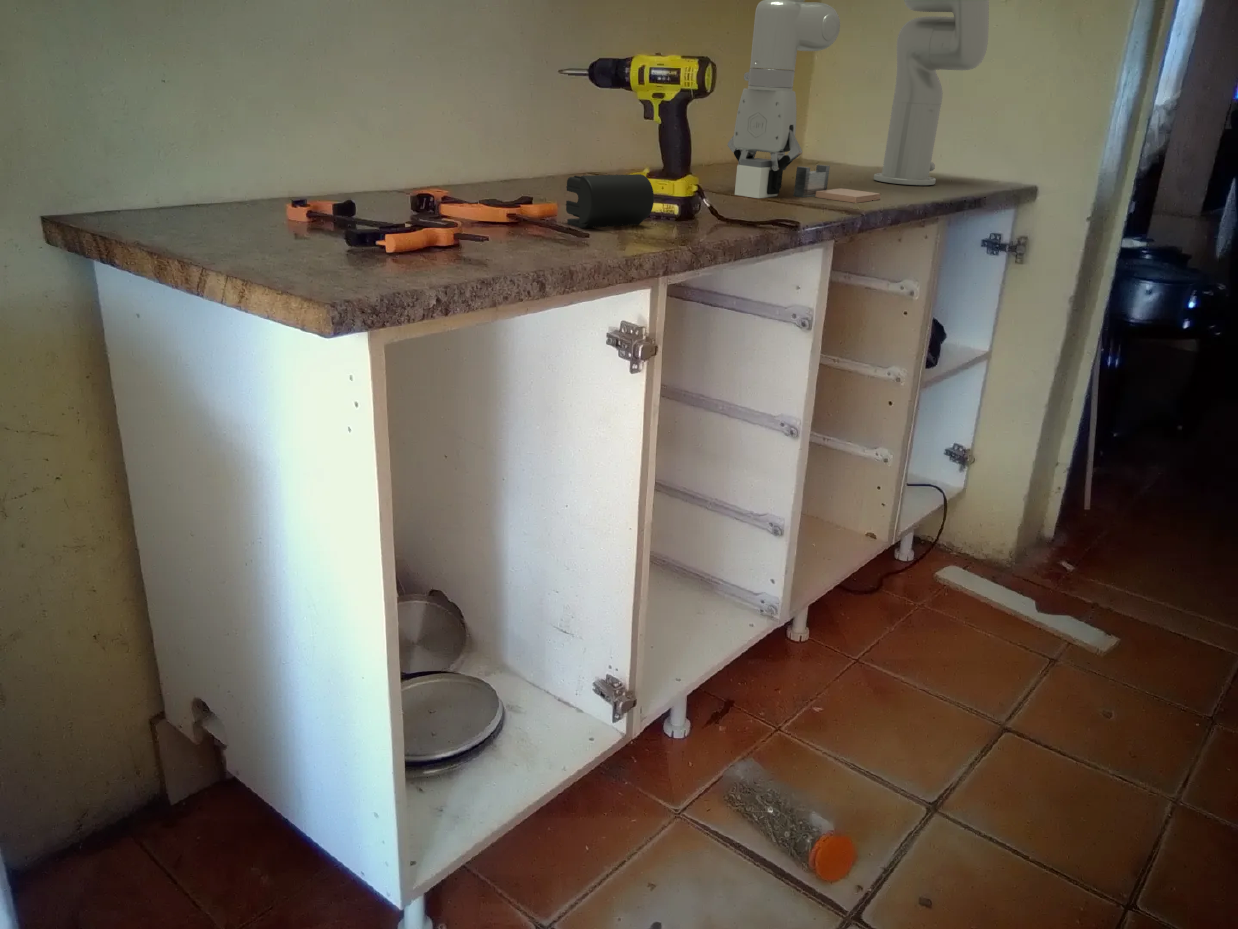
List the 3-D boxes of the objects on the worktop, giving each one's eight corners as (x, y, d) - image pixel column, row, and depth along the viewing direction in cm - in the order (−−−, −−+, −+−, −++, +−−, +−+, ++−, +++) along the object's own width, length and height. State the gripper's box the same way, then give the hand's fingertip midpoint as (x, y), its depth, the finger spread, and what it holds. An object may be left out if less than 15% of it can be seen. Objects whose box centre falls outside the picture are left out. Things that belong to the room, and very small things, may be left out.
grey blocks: (770, 186, 180) (773, 158, 178) (826, 194, 173) (829, 165, 171) (746, 188, 174) (749, 160, 172) (803, 197, 167) (806, 167, 165)
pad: (840, 193, 175) (841, 188, 174) (879, 199, 170) (880, 193, 170) (815, 196, 168) (816, 191, 168) (855, 202, 164) (856, 196, 163)
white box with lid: (753, 192, 170) (757, 157, 168) (777, 195, 167) (781, 160, 165) (734, 194, 166) (737, 158, 164) (758, 198, 163) (762, 161, 161)
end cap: (591, 232, 123) (593, 178, 120) (562, 223, 128) (564, 171, 125) (652, 228, 128) (656, 176, 126) (623, 220, 133) (625, 170, 131)
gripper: (717, 77, 162) (707, 187, 169) (802, 83, 152) (789, 199, 159) (742, 78, 168) (732, 184, 175) (826, 84, 158) (812, 196, 165)
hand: (759, 190), depth 167 cm, fingers closed on white box with lid, 5 cm apart
